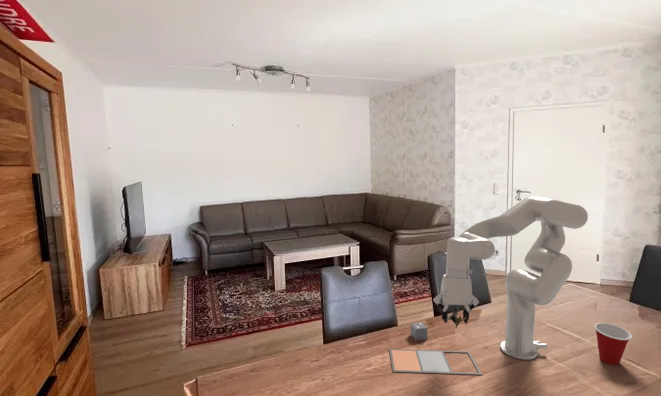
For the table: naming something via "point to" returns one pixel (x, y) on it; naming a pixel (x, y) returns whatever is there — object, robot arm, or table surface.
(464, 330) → the table surface
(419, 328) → the die
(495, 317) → the table surface
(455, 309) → the eagle figurine
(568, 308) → the table surface
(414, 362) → the board
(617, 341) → the plastic cup
